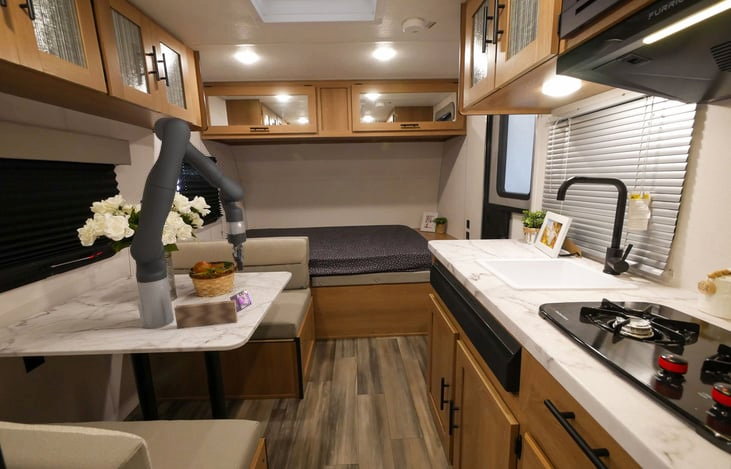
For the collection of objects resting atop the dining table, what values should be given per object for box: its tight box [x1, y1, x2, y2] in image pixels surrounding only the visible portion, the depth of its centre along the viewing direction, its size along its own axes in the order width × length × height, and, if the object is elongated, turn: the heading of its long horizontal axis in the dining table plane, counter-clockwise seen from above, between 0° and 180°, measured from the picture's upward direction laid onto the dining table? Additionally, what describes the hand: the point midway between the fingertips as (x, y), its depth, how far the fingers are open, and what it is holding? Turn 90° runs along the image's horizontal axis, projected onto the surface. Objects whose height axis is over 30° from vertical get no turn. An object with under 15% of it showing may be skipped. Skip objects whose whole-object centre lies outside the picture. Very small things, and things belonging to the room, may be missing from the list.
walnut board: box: [173, 300, 238, 330], centre depth 113 cm, size 20×2×8 cm, turn 102°
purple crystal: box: [229, 289, 252, 313], centre depth 128 cm, size 7×5×9 cm
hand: (240, 269), depth 138 cm, fingers closed
